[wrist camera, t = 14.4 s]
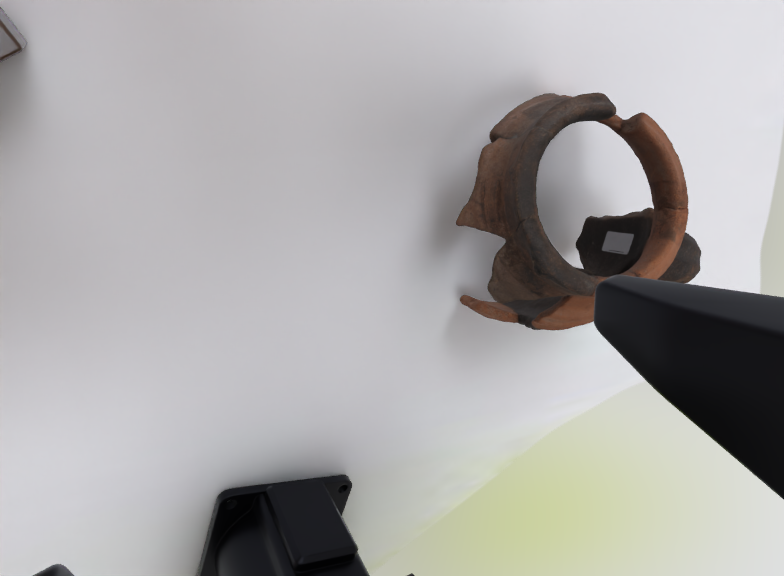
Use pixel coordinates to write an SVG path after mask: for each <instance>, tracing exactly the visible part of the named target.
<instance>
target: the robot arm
mask: <svg viewBox="0 0 784 576" xmlns="http://www.w3.org/2000/svg"><path fill="white" fill-rule="evenodd" d="M594 324H595V326H596V328H597V330H598V331H599V332H600V333H601V334H602V336H603V337H604V338H605V339H606V340H607V341H608V342H609V343H610V344H611V345H612V346H613V347H614V348H615V349H616V350H617V351H618V352H619V353H620V354H621V355H622V356H623V357H624V358H625V359H626V360H627V361H628V362H629V363H630V364H631V365H632V366H633V367H634V368H635V369H636V371H637V372H638V373H639V374H640V375H641V376H642V377H643V378H644V379H645V380H646V381H647V382H648V383H649V384H650V385H651V386H652V387H653V388H654V389H655V390H656V391H657V392H659V393H660V394H661V395H662V396H663V397H664V398H665V399H666V400H667V401H669V402H670V403H671V404H672V405H674V406H675V407H676V408H677V409H678V410H679V411H681V412H682V413H683V414H684V415H685V416H686V417H688V418H689V419H690V420H691V421H692V422H693V423H695V424H696V425H697V426H698V427H699V428H700V429H702V430H703V431H704V432H705V433H706V434H707V435H709V436H710V437H711V438H712V439H713V440H714V441H716V442H717V443H718V444H719V445H720V446H721V447H723V448H724V449H725V450H726V451H728V452H729V453H730V454H731V455H732V456H733V457H734V458H736V459H737V460H738V461H739V462H740V463H741V464H743V465H744V466H745V467H746V468H747V469H749V470H750V471H751V472H752V473H753V474H754V475H756V476H757V477H758V478H759V479H760V480H762V481H763V482H764V483H765V484H766V485H767V486H768V487H770V488H771V489H772V490H773V491H774V492H776V493H777V494H778V495H779V496H780V497H781V498H783V499H784V297H777V296H769V295H762V294H755V293H748V292H741V291H734V290H727V289H720V288H712V287H705V286H698V285H691V284H684V283H677V282H670V281H663V280H655V279H648V278H641V277H634V276H627V275H614V276H611V277H609V278H607V279H606V280H604V281H602V282H600V283H599V284H598V285H597V286H596V289H595V301H594ZM351 488H352V483H351V481H350V479H349V478H348V476H346V475H338V476H329V477H321V478H313V479H305V480H297V481H289V482H281V483H273V484H265V485H256V486H248V487H240V488H232V489H228V490H225V491H223V492H222V493H221V494H220V495H219V496H218V498H217V500H216V504H215V508H214V512H213V516H212V519H211V523H210V527H209V531H208V535H207V539H206V543H205V546H204V550H203V554H202V558H201V562H200V566H199V569H198V573H197V576H370V575H369V573H368V571H367V570H366V568H365V566H364V564H363V562H362V560H361V558H360V556H359V554H358V552H357V551H358V547H357V545H356V543H355V541H354V539H353V537H352V535H351V533H350V532H349V530H348V528H347V526H346V524H345V522H344V520H343V518H342V513H343V510H344V508H345V505H346V502H347V499H348V496H349V494H350V491H351ZM230 500H231V501H230ZM228 501H229V502H228ZM33 576H74V575H73V574H72V573H71V572H70V571H69V570H68V569H67V568H66V567H65V566H64V565H61V564H56V565H52V566H50V567H48V568H46V569H45V570H43V571H41V572H39V573H37V574H35V575H33ZM407 576H414V575H413V574H412V573H411V574H409V575H407Z"/></svg>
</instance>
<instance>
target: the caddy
mask: <svg viewBox="0 0 784 576" xmlns="http://www.w3.org/2000/svg"><path fill="white" fill-rule="evenodd" d="M26 44H27V41H26V39H25V38H24V37H23V35H22V34H21V33H20V32H19V30H18V29H17V28H16V26H15V25H14V24H13V22H12V21H11V20H10V19H9V17H8V16H7V15H6V13H5V12H4V11H3V10H2V8H1V7H0V62H1V61H3V60H5V59H7V58H9V57H11V56H13V55H15V54H17V53H19V52H21V51H22V49H23V48H24V47H25V45H26Z"/></svg>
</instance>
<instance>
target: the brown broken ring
mask: <svg viewBox="0 0 784 576" xmlns="http://www.w3.org/2000/svg"><path fill="white" fill-rule="evenodd" d="M615 114H616V107H615V106H614V105H613V103H612V102H611V101H610V100H609V99H608V97H607V96H606V95H604V94H602V93H591V94H582V95H578V96H576V97H570V96H566V95H562V96H559V95H556V94H552V93H549V94H543V95H540V96H537V97H534V98H532V99H530V100H528V101H526V102H524V103H523V104H521V105H519V106H517V107H516V108H514V109H513V110H512V111H511V112H509V113H508V114H507V115H506V116H505V117H504V118H503V119H502V120H501V121H500V122H499V123H498V124H497V125H495V126H494V128H493V129H492V130H491V132H490V140H491V142H492V143H490V144H488V145H486V146H485V147H484V148H483V149H482V152H481V155H480V159H479V162H478V173H477V177H476V182H475V186H474V189H473V192H472V194H471V196H470V198H469V201H468V203H467V204H466V205H465V206H464V208H463V209H462V211H461V213H460V215H459V217H458V219H457V221H456V224H457V225H458V226H468V227H473V228H476V229H478V230H482V231H486V232H490V233H492V234H496V235H498V236H501V237H503V238H504V239H505V240H506V243H505V244H504V246H503V247H502V248H501V249H500V250H499V251H498V252H497V253H496V255H495V258H494V262H493V268H492V277H491V279H490V281H489V283H488V291H489V292H490V294H491V295H492V297H493V298H494V300H495V301H497V302H487V301H481V300H478V299H475V298H473V297H470V296H467V295H463V296H462V297H461V298H460V301H461V303H462V304H464V305H466V306H468V307H469V308H470V309H472V310H474V311H475V312H477V313H479V314H481V315H483V316H485V317H487V318H491V319H496V320H499V321H503V322H513V323H519V324H522V325H525V326H526V327H528V328H532V329H534V330H541V329H545V330H564V329H569V328H572V327H575V326H580V325H584V324H587V323H590V322H593V321H594V301H595V289H596V286H597V285H598V284H599V283H600V282H602V281H604V280H606V279H607V278H609V277H611V276H614V275H627V276H634V277H641V278H648V279H655V280H663V281H670V282H677V283H688V282H689V281H691V280H692V279H693V278H694V277H695V276H696V275H697V274H698V272H699V271H700V256H701V250H700V248H699V246H698V245H697V242H696V241H695V239H694V238H692V237H691V236H690V235H689V234H687V233H685V230H686V225H687V219H688V195H687V187H686V181H685V178H684V172H683V169H682V166H681V163H680V160H679V157H678V155H677V154H676V152H675V150H674V149H673V146H672V143H671V142H670V141H669V139H668V137H667V135H666V134H665V133H664V131H663V130H662V129H661V128H660V127H659V125H658V124H657V123H656V122H655V121H654V120H653V119H652V118H651V117H649V116H648V115H647V114H645V113H639V114H636V115H634V116H632V117H631V118H629V119H628V120H622V119H621V118H620V117H619V116H617V115H615ZM580 121H597V122H600V123H602V124H605V125H607V126H608V127H610V128H611V129H612V130H614V131H615V132H616V133H617V134H618V135H620V136H621V137H622V138H623V139H624V140H625V141H626V142H627V143H628V145H629V146H630V147H631V148H632V150H633V151H634V153H635V155H636V156H637V157H638V158H639V160H640V162H641V164H642V167H643V169H644V171H645V174H646V176H647V179H648V182H649V185H650V189H651V194H652V202H653V205H654V209H652V208H647V209H644V210H643V211H641V212H632V213H629V214H626V215H624V216H603V217H599V218H598V217H593V216H590V217H588V218H587V219H586V220H585V223H584V225H583V229H582V232H581V234H580V236H579V238H578V240H577V242H576V248H577V249H578V251H579V255H580V260H581V262H582V264H583V267H584V269H580V268H575V267H573V266H571V265H570V264H569V263H567V262H566V261H565V260H564V259H563V258H562V257H561V255H560V254H559V253H558V252H557V251H556V249H555V248H554V247H553V246H552V244H551V243H550V241H549V239H548V237H547V236H546V234H545V232H544V230H543V227H542V225H541V222H540V221H539V216H538V209H537V204H536V177H537V171H538V167H539V162H540V160H541V157H542V155H543V153H544V151H545V149H546V147H547V146H548V144H549V143H550V141H551V140H552V139H553V138H554V137H555V136H556V135H557V134H558V133H559V132H560V131H561V130H562V129H563V128H565V127H566V126H568V125H570V124H572V123H576V122H580Z"/></svg>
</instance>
